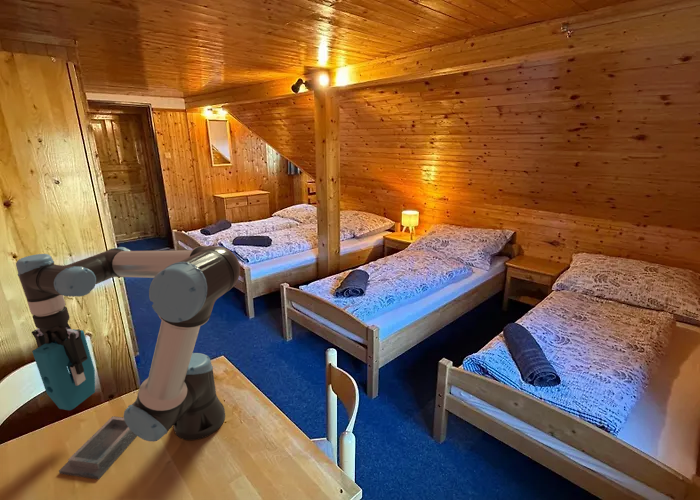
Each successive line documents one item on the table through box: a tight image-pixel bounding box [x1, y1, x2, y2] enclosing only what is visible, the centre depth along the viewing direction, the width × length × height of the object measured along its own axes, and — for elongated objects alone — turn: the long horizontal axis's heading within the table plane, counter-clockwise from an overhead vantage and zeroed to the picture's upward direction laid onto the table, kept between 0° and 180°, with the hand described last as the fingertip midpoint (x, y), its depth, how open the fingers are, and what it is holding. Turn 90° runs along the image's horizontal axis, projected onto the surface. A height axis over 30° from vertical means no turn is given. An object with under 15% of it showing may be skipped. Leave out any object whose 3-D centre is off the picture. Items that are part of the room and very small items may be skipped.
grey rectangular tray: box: [58, 416, 138, 480], centre depth 109 cm, size 12×20×3 cm, turn 171°
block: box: [32, 329, 96, 411], centre depth 107 cm, size 12×5×20 cm, turn 167°
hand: (71, 381), depth 108 cm, fingers closed on block, 5 cm apart
